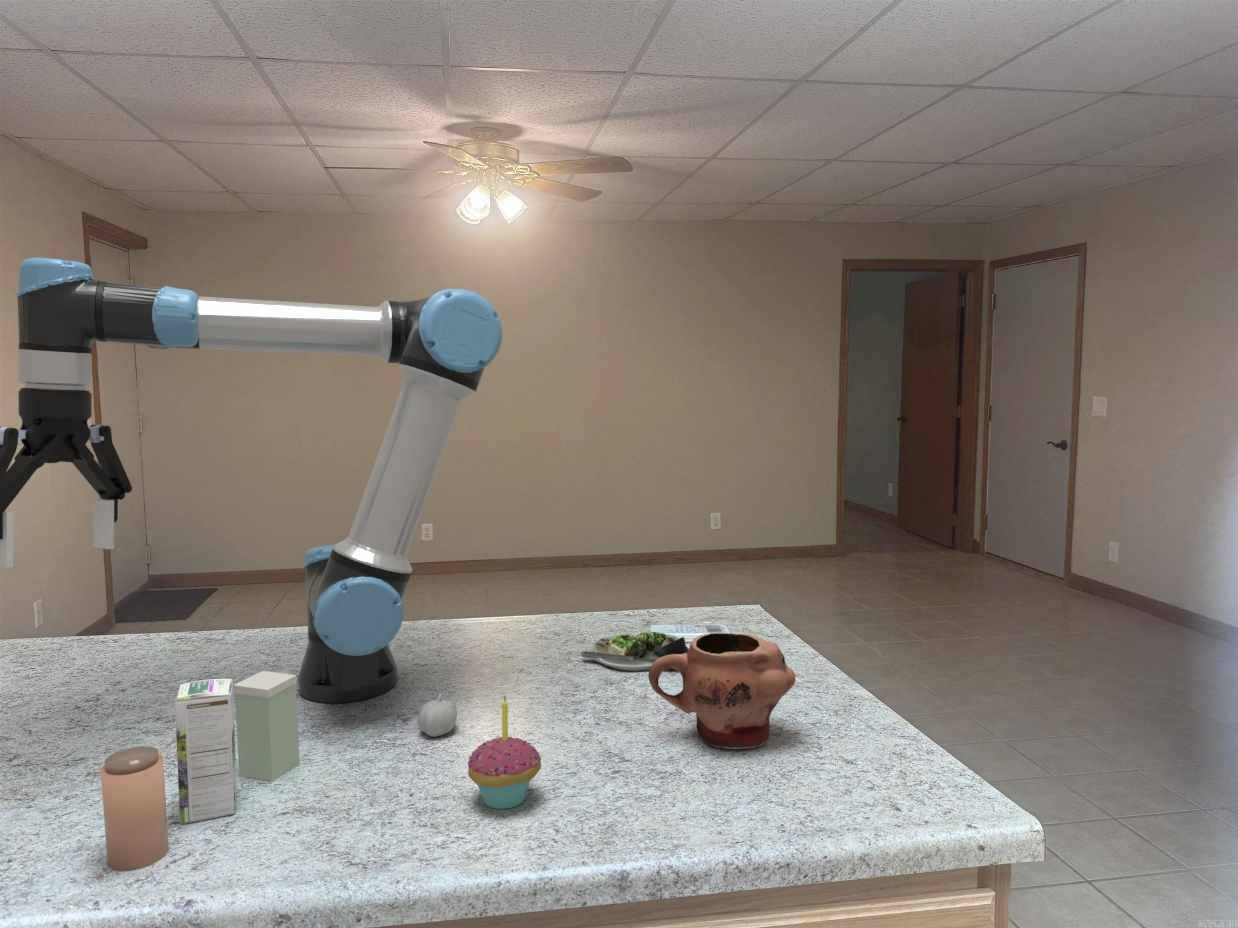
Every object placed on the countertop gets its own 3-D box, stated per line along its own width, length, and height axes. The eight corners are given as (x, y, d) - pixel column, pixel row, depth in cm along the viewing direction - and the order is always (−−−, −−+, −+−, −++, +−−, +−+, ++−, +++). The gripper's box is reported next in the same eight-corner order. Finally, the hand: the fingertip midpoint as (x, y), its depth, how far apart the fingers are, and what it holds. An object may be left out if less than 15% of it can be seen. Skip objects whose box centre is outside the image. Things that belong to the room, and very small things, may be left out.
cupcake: (472, 783, 103) (469, 689, 102) (541, 780, 104) (540, 686, 103) (465, 820, 95) (462, 718, 93) (541, 816, 95) (539, 715, 94)
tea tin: (267, 757, 110) (262, 670, 109) (300, 763, 109) (296, 675, 107) (238, 775, 105) (233, 685, 104) (272, 782, 104) (268, 689, 102)
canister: (169, 834, 92) (162, 740, 91) (168, 861, 87) (162, 761, 86) (109, 848, 89) (102, 751, 88) (105, 876, 84) (97, 773, 83)
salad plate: (586, 680, 138) (586, 653, 138) (574, 645, 156) (574, 621, 155) (700, 673, 141) (701, 647, 141) (676, 640, 159) (676, 616, 158)
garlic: (436, 720, 122) (435, 686, 121) (466, 727, 119) (466, 692, 119) (408, 737, 116) (407, 700, 116) (440, 744, 114) (439, 707, 113)
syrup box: (183, 801, 99) (176, 682, 97) (238, 791, 101) (232, 675, 100) (179, 825, 94) (171, 700, 92) (238, 814, 96) (231, 692, 94)
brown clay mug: (656, 762, 109) (656, 658, 107) (642, 723, 121) (642, 629, 119) (806, 754, 111) (808, 651, 109) (778, 716, 123) (780, 623, 121)
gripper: (119, 387, 117) (118, 538, 119) (-76, 382, 93) (-73, 571, 95) (162, 390, 115) (160, 544, 116) (-27, 386, 91) (-25, 579, 93)
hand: (55, 556), depth 106 cm, fingers open, 13 cm apart
